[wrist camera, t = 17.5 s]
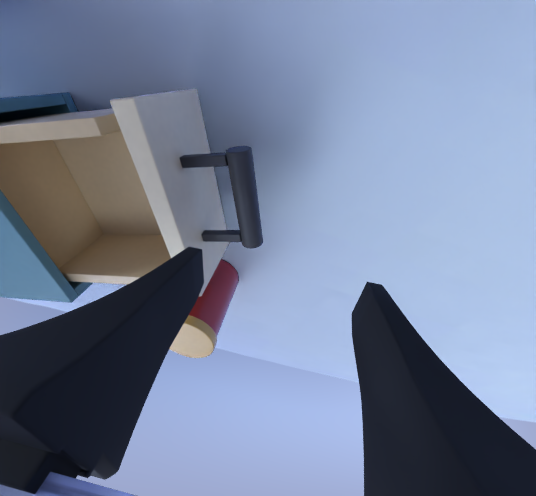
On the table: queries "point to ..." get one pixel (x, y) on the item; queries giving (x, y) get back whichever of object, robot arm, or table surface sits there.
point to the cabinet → (17, 232)
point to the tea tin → (207, 314)
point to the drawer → (126, 187)
